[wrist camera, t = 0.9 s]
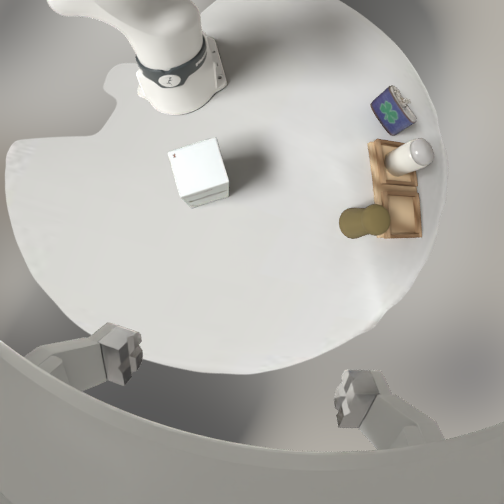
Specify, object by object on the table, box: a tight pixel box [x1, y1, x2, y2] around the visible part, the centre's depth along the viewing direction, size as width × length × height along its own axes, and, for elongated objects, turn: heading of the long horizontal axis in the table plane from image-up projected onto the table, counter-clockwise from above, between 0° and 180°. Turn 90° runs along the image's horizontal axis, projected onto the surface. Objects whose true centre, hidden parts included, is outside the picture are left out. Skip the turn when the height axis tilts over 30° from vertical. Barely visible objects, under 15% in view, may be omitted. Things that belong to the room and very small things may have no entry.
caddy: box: [368, 139, 422, 239], centre depth 50 cm, size 20×11×3 cm, turn 3°
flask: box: [370, 85, 417, 135], centre depth 45 cm, size 9×3×11 cm, turn 31°
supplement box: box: [168, 137, 229, 208], centre depth 42 cm, size 7×7×13 cm
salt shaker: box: [384, 138, 434, 177], centre depth 44 cm, size 6×6×11 cm
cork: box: [339, 204, 391, 239], centre depth 45 cm, size 6×6×11 cm
